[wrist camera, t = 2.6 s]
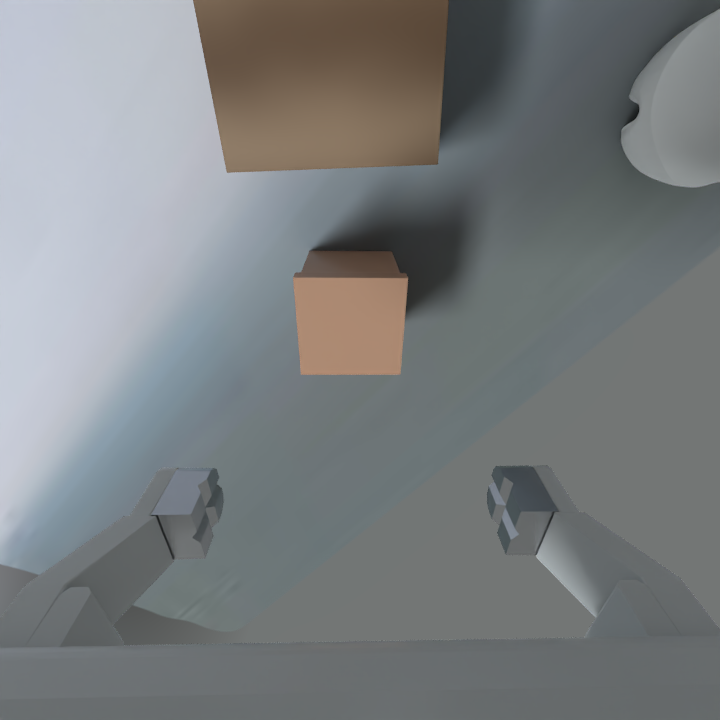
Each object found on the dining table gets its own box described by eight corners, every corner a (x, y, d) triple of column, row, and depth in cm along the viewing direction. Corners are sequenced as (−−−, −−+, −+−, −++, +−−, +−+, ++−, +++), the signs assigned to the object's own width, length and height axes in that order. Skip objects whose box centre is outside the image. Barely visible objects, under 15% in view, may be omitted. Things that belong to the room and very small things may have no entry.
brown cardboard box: (306, 247, 23) (293, 277, 18) (394, 248, 23) (408, 278, 18) (311, 327, 26) (301, 374, 20) (390, 327, 26) (400, 374, 21)
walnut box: (221, -65, 16) (160, -165, 11) (425, -73, 16) (460, -176, 11) (257, 165, 21) (226, 172, 15) (416, 159, 21) (437, 164, 15)
